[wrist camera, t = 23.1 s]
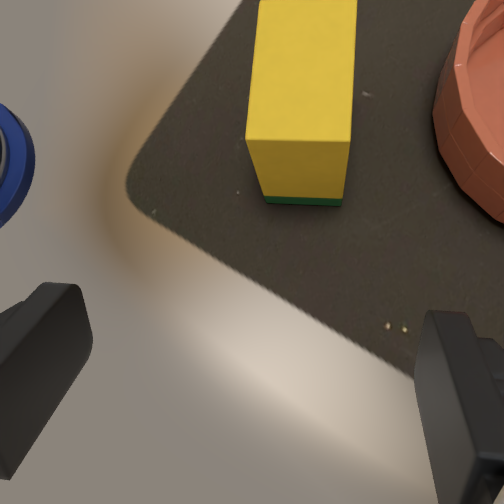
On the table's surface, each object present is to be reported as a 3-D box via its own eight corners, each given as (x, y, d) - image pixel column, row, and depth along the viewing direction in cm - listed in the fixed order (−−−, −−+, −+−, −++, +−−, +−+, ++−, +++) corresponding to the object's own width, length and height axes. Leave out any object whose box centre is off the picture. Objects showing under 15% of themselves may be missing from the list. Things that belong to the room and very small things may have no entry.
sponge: (265, 203, 27) (244, 139, 19) (275, 97, 29) (259, -1, 21) (341, 206, 26) (350, 141, 19) (346, 97, 28) (357, -4, 20)
